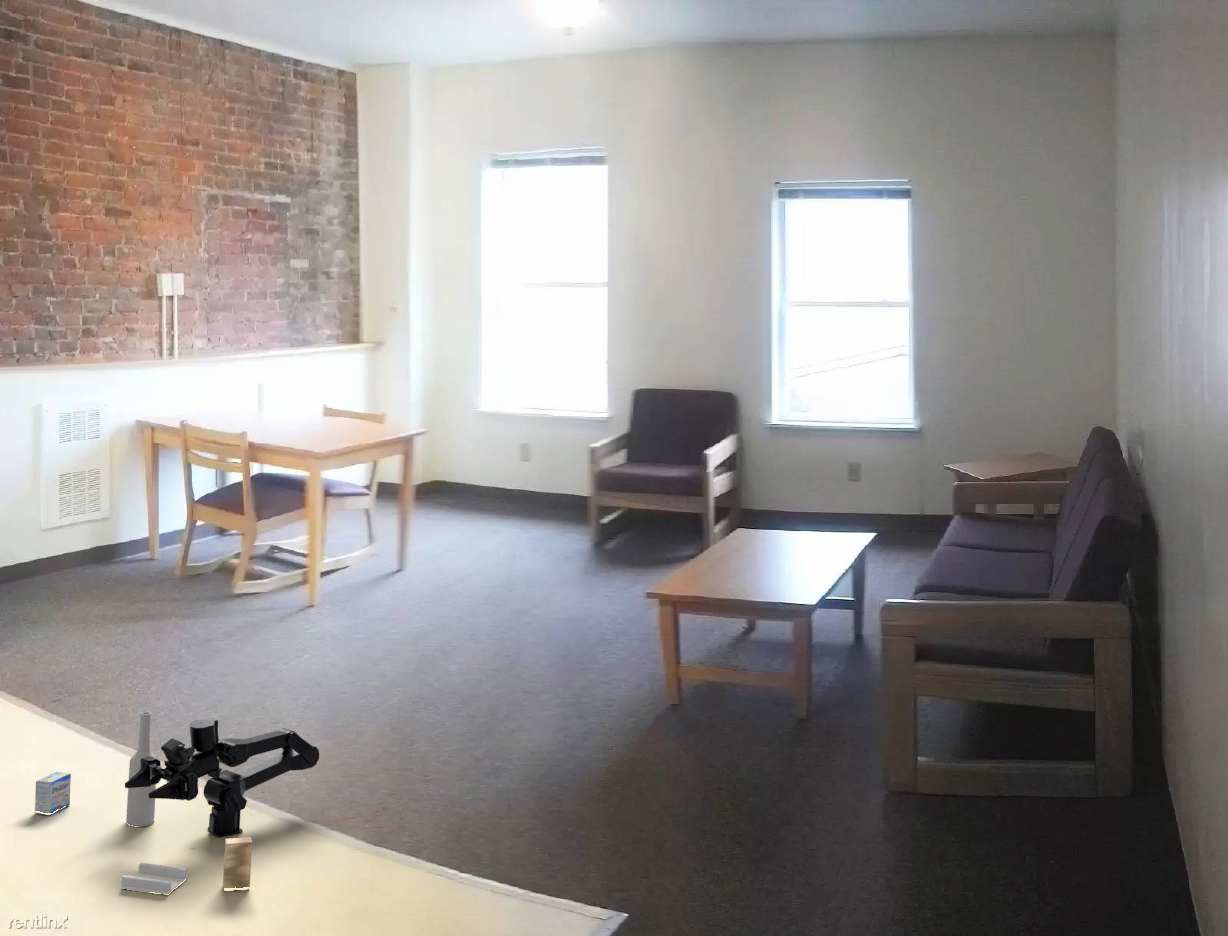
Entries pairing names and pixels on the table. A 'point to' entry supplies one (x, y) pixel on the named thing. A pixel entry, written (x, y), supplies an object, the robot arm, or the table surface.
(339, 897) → the table surface
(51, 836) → the table surface
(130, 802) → the bottle
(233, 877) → the wooden block
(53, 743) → the table surface
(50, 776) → the medicine box
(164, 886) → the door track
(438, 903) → the table surface
